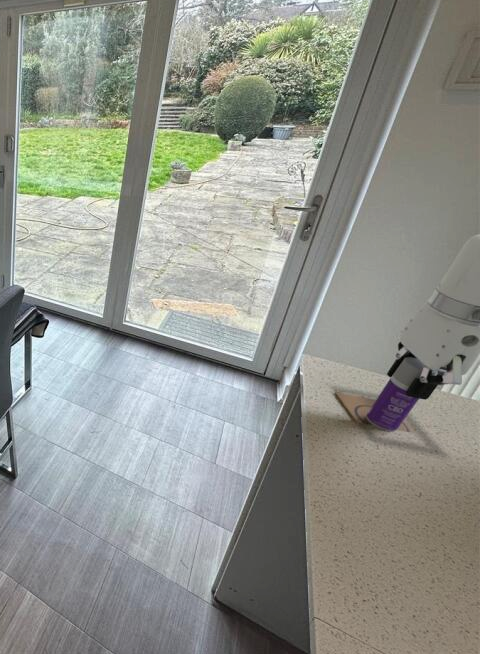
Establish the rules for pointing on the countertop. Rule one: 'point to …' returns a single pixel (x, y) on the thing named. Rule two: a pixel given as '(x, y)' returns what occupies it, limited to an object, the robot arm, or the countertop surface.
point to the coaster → (364, 409)
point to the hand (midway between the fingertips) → (406, 386)
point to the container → (396, 396)
